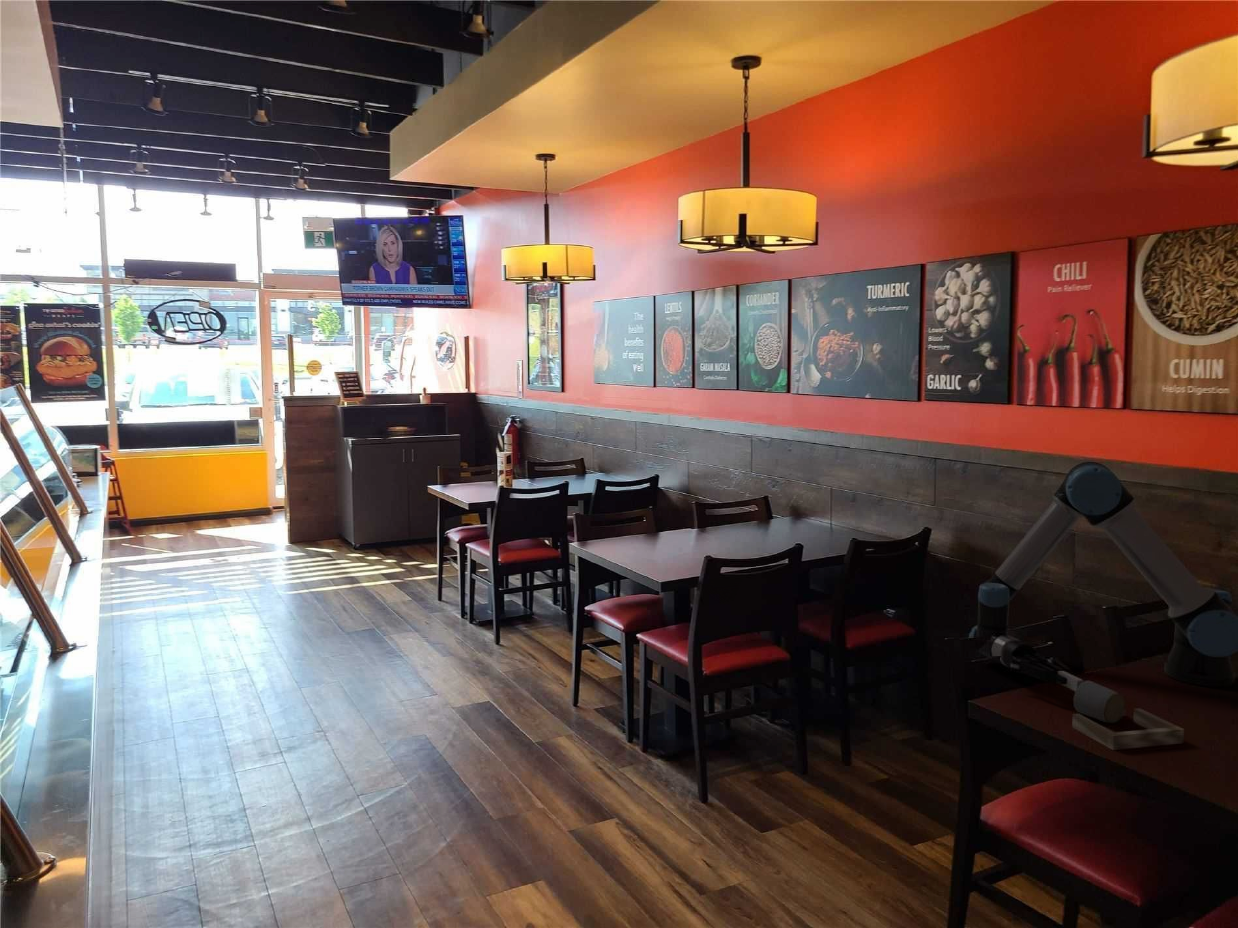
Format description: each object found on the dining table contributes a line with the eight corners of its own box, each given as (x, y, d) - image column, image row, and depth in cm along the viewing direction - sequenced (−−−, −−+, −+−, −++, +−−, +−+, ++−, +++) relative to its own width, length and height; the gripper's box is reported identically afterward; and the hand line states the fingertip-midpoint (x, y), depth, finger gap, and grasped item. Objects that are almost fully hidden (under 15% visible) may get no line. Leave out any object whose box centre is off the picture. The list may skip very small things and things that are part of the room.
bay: (1138, 721, 195) (1139, 708, 195) (1183, 742, 184) (1184, 729, 183) (1072, 727, 192) (1072, 714, 192) (1112, 749, 180) (1113, 735, 180)
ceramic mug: (1106, 727, 192) (1108, 693, 191) (1071, 715, 199) (1073, 682, 198) (1135, 719, 197) (1137, 686, 196) (1100, 707, 204) (1102, 675, 203)
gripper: (1036, 666, 224) (1104, 699, 201) (991, 670, 222) (1053, 703, 199) (1038, 638, 224) (1105, 668, 200) (992, 641, 221) (1055, 671, 198)
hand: (1079, 685), depth 200 cm, fingers closed
